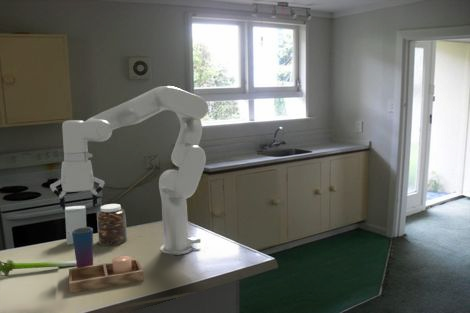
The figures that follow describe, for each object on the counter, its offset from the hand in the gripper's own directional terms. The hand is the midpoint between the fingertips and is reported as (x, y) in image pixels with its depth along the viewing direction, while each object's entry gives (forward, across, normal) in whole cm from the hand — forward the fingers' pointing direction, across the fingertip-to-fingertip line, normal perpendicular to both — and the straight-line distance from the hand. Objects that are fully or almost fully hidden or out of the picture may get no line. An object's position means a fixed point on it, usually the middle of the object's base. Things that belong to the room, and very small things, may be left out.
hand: (79, 207), depth 147 cm
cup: (+23, -1, 0) cm, 23 cm away
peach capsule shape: (+22, -12, +11) cm, 28 cm away
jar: (+23, -13, -30) cm, 40 cm away
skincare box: (+23, +1, -36) cm, 43 cm away
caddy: (+23, -7, +11) cm, 26 cm away
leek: (+24, +15, -9) cm, 29 cm away
